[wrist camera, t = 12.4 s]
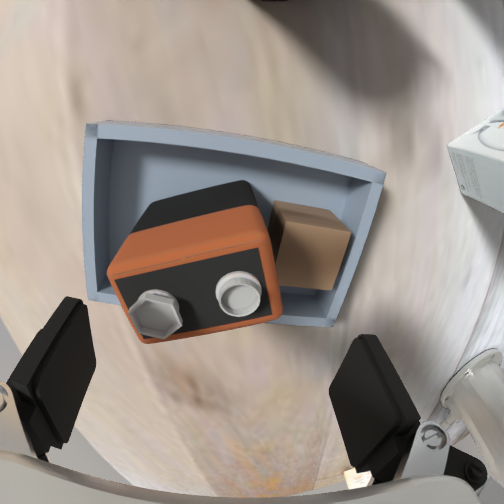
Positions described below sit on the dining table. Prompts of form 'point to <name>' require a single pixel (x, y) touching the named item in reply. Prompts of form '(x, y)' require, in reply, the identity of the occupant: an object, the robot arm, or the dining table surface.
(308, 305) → the bin
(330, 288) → the walnut block
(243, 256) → the battery
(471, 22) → the dining table surface
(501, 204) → the skincare box
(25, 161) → the dining table surface
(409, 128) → the dining table surface
